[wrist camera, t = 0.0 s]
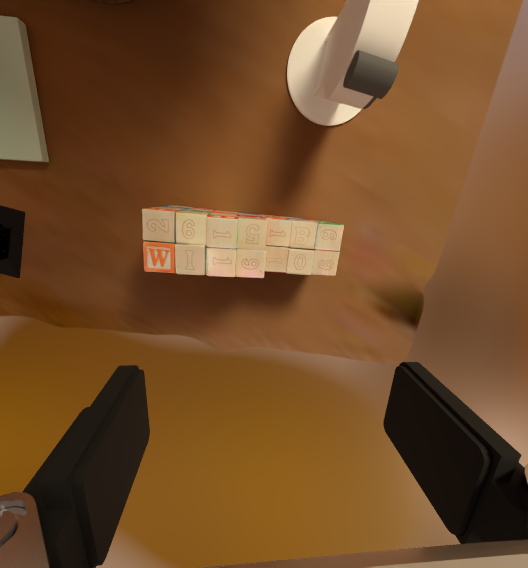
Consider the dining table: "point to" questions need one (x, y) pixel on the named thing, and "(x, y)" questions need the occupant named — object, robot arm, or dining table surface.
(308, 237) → the stack of blocks
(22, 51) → the green plate
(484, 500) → the robot arm
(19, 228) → the black piece
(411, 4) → the white desk lamp
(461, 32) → the dining table surface
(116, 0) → the wooden container
